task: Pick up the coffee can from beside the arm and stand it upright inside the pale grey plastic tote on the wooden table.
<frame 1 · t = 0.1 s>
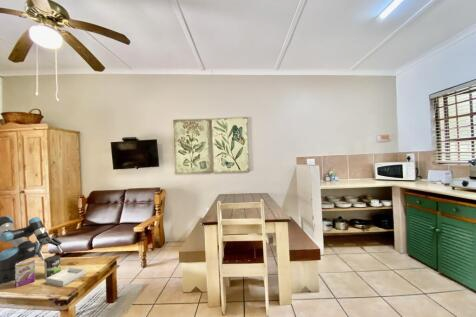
hand: (52, 256, 187), 15 cm above the table, tool tilted 35°, fingers open, 13 cm apart
tote: (66, 278, 180), on the table
coffee can: (52, 275, 186), on the table
candy bar box: (25, 283, 174), on the table
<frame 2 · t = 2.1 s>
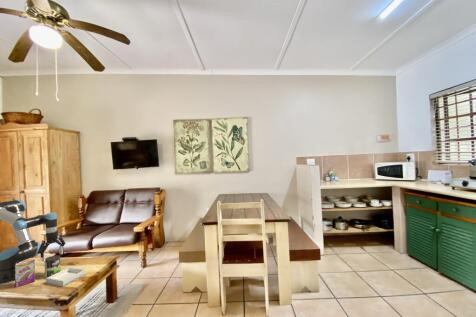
hand: (52, 257, 186), 14 cm above the table, tool pointing down, fingers open, 13 cm apart
nothing on the table moved.
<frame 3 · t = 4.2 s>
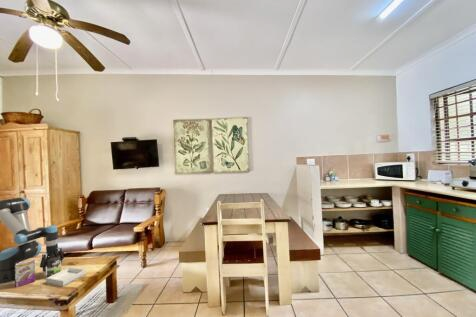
hand: (52, 271, 186), 3 cm above the table, tool pointing down, fingers closed on coffee can, 10 cm apart
coffee can: (52, 275, 186), on the table, touching gripper
everything else where it was.
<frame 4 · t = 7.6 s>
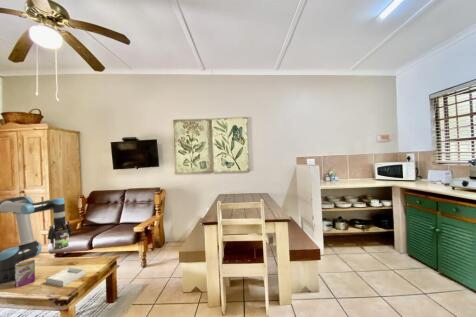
hand: (60, 244, 182), 27 cm above the table, tool pointing down, fingers closed on coffee can, 10 cm apart
coffee can: (60, 248, 182), point 24 cm above the table, touching gripper
everything else where it was.
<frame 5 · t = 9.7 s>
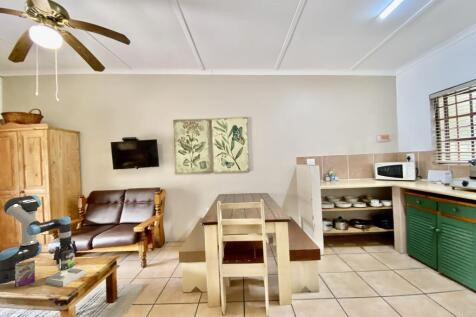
hand: (66, 264, 179), 11 cm above the table, tool pointing down, fingers closed on coffee can, 10 cm apart
coffee can: (66, 268, 179), point 8 cm above the table, touching gripper
everything else where it was.
when the fingers open (5 cm above the table, at t = 11.5 s): coffee can drops 1 cm, resting on tote.
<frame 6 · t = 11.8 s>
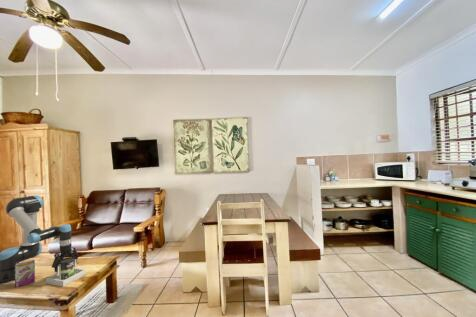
hand: (66, 271, 180), 6 cm above the table, tool pointing down, fingers open, 13 cm apart
coffee can: (66, 277, 180), point 1 cm above the table, touching tote
everything else where it was.
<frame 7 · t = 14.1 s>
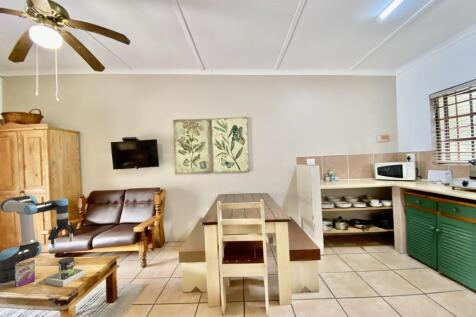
hand: (62, 244, 179), 27 cm above the table, tool pointing down, fingers open, 13 cm apart
nothing on the table moved.
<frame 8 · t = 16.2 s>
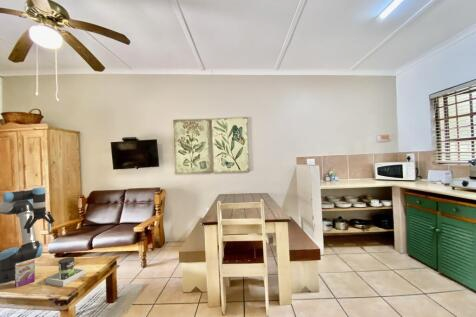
hand: (40, 234, 177), 37 cm above the table, tool pointing down, fingers open, 13 cm apart
nothing on the table moved.
at the end: coffee can inside the target area on the tote (0.3 cm from its centre), point 0.8 cm above the tote's base; coffee can tilted 0°; the gripper is holding nothing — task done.
